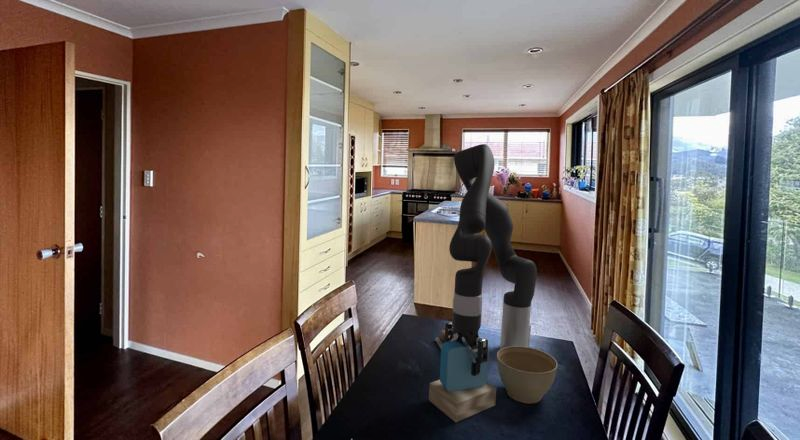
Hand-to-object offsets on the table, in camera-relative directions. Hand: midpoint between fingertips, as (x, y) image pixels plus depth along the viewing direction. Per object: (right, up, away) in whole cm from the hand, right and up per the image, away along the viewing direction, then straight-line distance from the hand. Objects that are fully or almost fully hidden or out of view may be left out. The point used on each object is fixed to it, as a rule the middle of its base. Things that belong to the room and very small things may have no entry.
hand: (463, 367), depth 106 cm
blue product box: (0, -5, +1) cm, 5 cm away
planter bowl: (+18, -10, +6) cm, 22 cm away
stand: (0, -10, +1) cm, 10 cm away
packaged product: (+2, -7, +32) cm, 33 cm away
